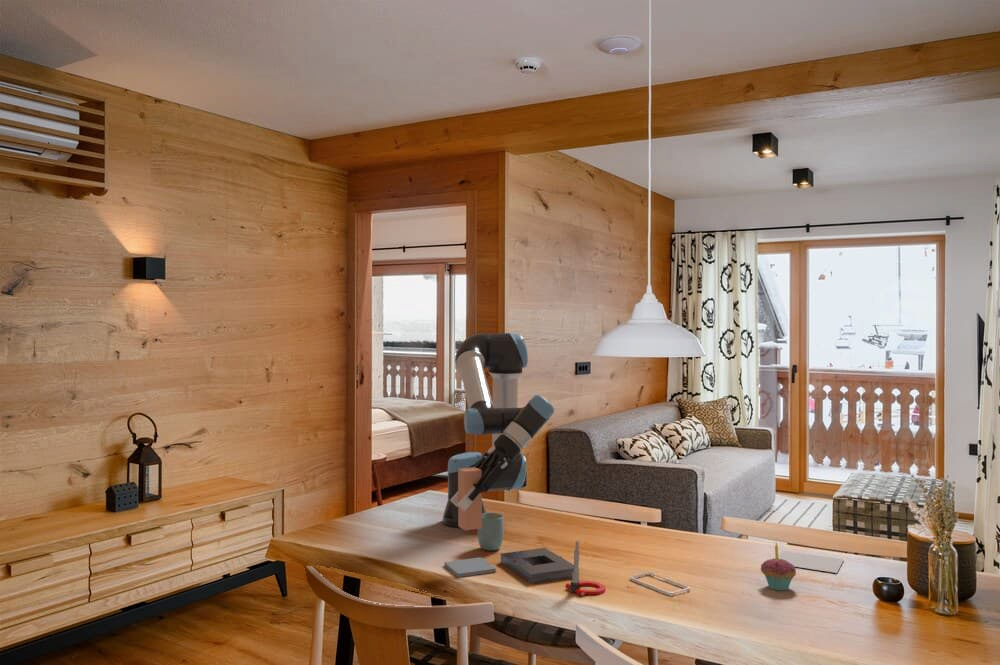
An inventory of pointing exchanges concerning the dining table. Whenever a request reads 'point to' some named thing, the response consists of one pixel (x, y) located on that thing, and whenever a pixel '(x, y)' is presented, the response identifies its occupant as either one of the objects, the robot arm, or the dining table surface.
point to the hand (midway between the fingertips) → (457, 505)
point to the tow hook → (576, 583)
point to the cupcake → (778, 572)
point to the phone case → (657, 587)
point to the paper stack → (812, 561)
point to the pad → (469, 567)
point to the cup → (491, 531)
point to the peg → (474, 511)
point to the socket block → (538, 565)
